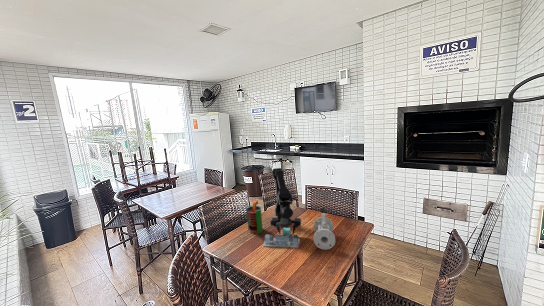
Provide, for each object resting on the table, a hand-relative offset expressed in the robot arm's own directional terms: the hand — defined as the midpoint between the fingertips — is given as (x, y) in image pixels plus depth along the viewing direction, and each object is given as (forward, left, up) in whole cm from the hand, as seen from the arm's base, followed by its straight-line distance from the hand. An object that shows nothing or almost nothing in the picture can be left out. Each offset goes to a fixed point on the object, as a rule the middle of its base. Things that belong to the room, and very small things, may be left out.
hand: (286, 234), depth 139 cm
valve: (+2, +23, -1) cm, 23 cm away
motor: (-6, -22, -1) cm, 23 cm away
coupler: (0, 0, -1) cm, 1 cm away
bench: (+8, -2, -1) cm, 9 cm away
